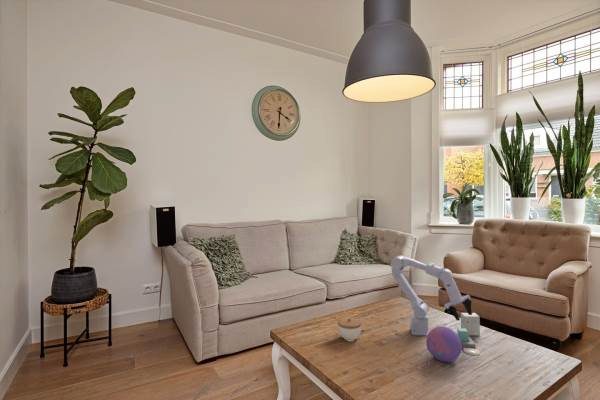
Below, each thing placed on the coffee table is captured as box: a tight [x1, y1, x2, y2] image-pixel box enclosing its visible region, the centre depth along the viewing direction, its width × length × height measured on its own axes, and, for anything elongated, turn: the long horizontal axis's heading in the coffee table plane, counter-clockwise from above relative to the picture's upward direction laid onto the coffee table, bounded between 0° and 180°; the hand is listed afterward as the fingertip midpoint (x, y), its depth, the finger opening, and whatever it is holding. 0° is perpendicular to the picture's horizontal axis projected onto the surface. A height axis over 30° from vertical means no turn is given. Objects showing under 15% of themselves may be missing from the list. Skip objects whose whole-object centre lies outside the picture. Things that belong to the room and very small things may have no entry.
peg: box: [456, 327, 469, 342], centre depth 167 cm, size 4×4×7 cm
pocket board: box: [461, 335, 476, 349], centre depth 168 cm, size 18×10×2 cm, turn 79°
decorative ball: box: [425, 326, 463, 363], centre depth 151 cm, size 15×15×15 cm
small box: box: [460, 312, 481, 336], centre depth 178 cm, size 8×6×10 cm
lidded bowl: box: [337, 316, 362, 341], centre depth 175 cm, size 13×13×11 cm
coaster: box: [463, 348, 480, 356], centre depth 158 cm, size 7×7×1 cm
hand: (464, 317), depth 169 cm, fingers open, 7 cm apart
